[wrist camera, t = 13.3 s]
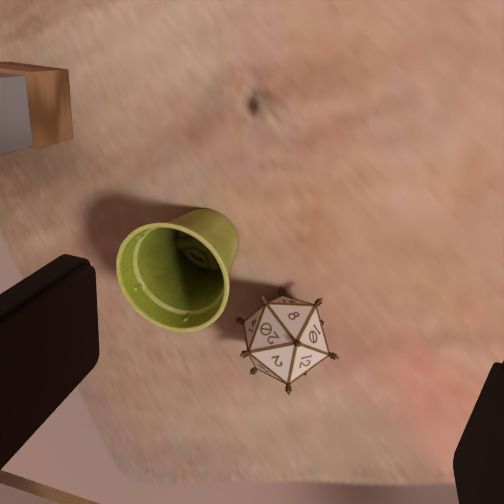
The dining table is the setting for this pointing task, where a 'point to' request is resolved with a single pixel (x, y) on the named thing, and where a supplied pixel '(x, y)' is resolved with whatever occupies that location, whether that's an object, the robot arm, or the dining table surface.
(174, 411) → the dining table surface
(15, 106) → the tower top
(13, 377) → the robot arm
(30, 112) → the tower base
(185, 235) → the plant pot
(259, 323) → the game die
